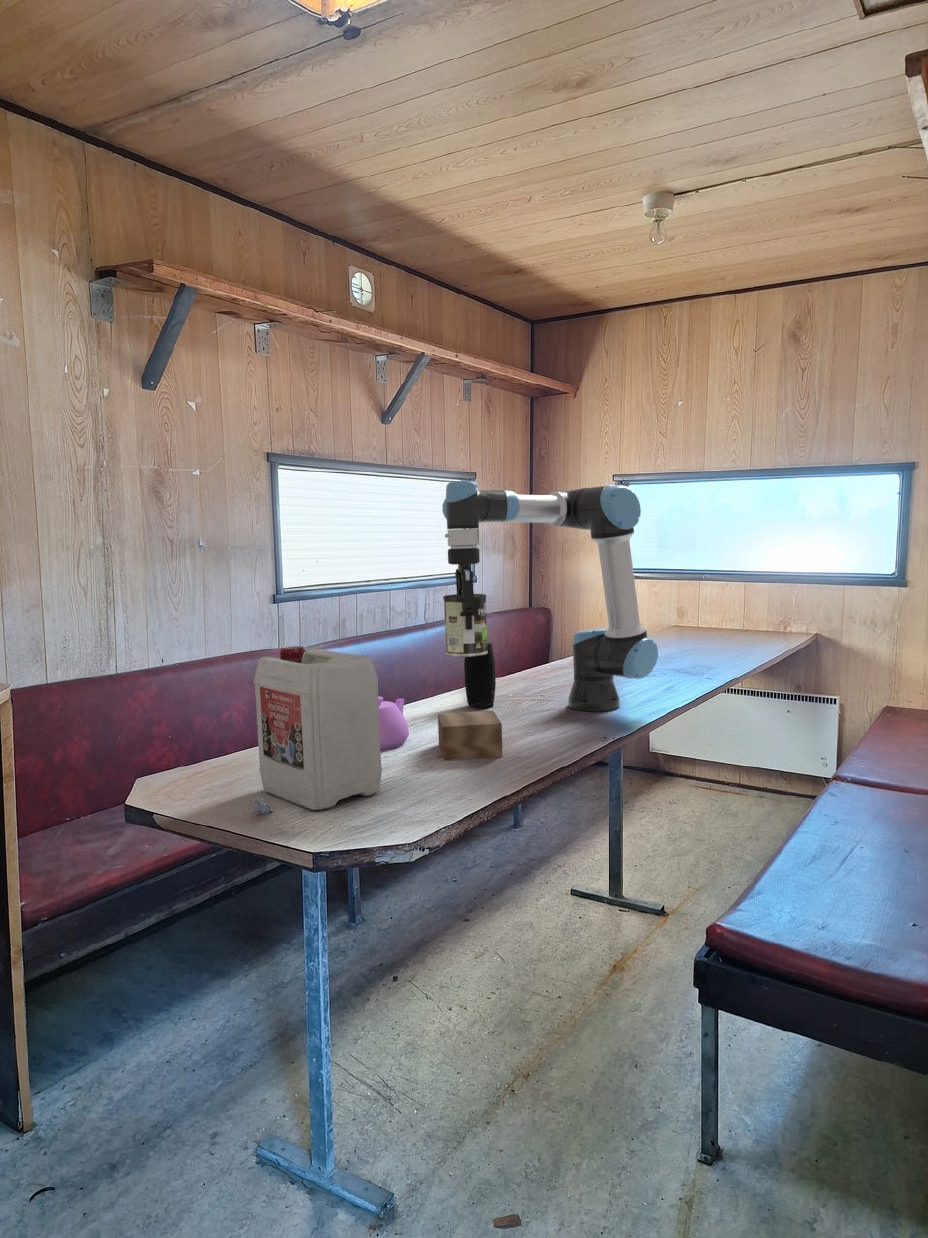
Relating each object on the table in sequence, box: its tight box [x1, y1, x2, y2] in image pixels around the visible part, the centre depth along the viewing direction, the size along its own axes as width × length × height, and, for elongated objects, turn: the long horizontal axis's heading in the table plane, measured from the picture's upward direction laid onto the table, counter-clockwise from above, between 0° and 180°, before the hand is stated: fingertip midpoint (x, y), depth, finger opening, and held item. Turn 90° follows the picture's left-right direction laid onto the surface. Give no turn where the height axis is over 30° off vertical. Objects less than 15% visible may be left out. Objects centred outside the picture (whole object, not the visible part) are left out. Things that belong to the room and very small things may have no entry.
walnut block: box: [437, 710, 504, 761], centre depth 195 cm, size 14×14×8 cm
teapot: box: [378, 695, 410, 751], centre depth 205 cm, size 22×16×12 cm
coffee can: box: [442, 593, 488, 658], centre depth 192 cm, size 10×10×14 cm
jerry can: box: [253, 645, 383, 811], centre depth 166 cm, size 24×19×30 cm
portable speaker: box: [463, 642, 497, 710], centre depth 243 cm, size 9×9×20 cm
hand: (466, 640), depth 193 cm, fingers closed on coffee can, 10 cm apart
